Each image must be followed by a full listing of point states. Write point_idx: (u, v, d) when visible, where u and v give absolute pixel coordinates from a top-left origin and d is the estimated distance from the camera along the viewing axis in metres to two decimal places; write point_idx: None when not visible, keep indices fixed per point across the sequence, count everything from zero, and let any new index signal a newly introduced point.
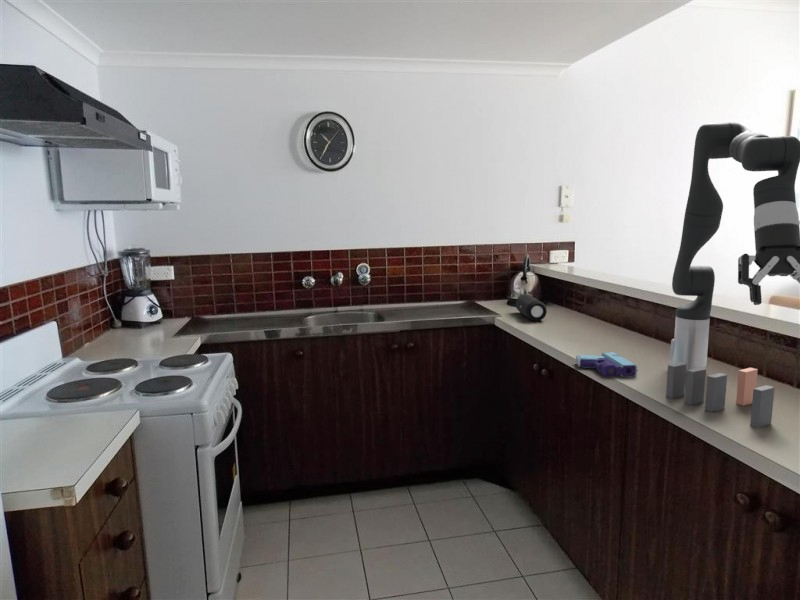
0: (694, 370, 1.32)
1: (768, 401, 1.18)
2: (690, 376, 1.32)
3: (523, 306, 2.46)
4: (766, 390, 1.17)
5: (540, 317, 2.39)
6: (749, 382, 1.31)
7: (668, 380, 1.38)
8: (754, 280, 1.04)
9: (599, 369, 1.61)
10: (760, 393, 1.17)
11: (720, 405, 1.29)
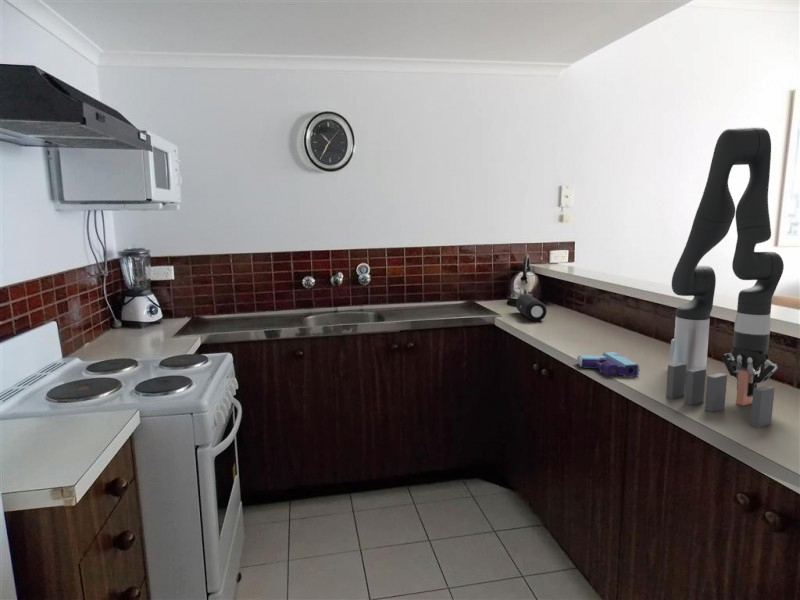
0: (694, 370, 1.32)
1: (768, 401, 1.18)
2: (690, 376, 1.32)
3: (523, 306, 2.46)
4: (766, 390, 1.17)
5: (540, 317, 2.39)
6: None
7: (668, 380, 1.38)
8: (737, 376, 1.33)
9: (601, 369, 1.61)
10: (760, 393, 1.17)
11: (720, 405, 1.29)
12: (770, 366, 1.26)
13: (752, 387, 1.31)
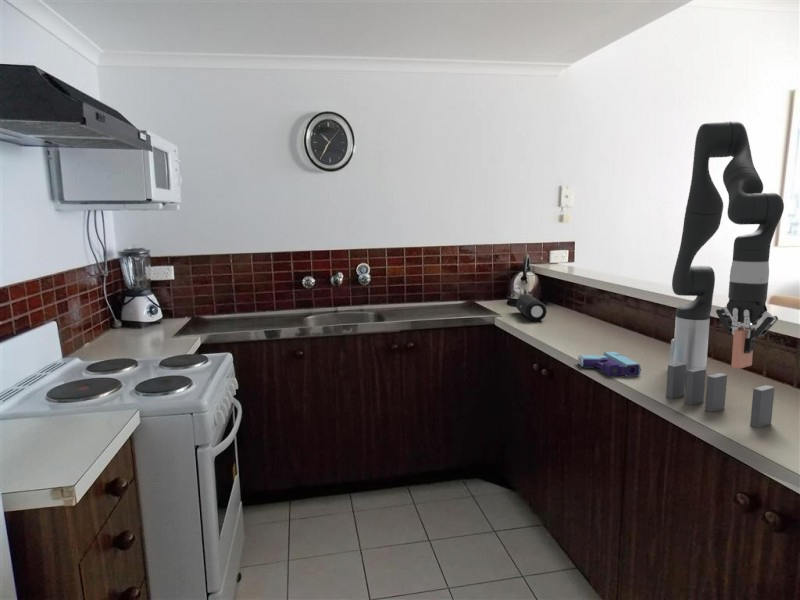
0: (694, 370, 1.32)
1: (768, 401, 1.18)
2: (690, 376, 1.32)
3: (523, 306, 2.46)
4: (766, 390, 1.17)
5: (540, 317, 2.39)
6: None
7: (668, 380, 1.38)
8: (733, 332, 1.22)
9: (603, 369, 1.61)
10: (760, 393, 1.17)
11: (720, 405, 1.29)
12: (768, 318, 1.15)
13: (749, 342, 1.20)
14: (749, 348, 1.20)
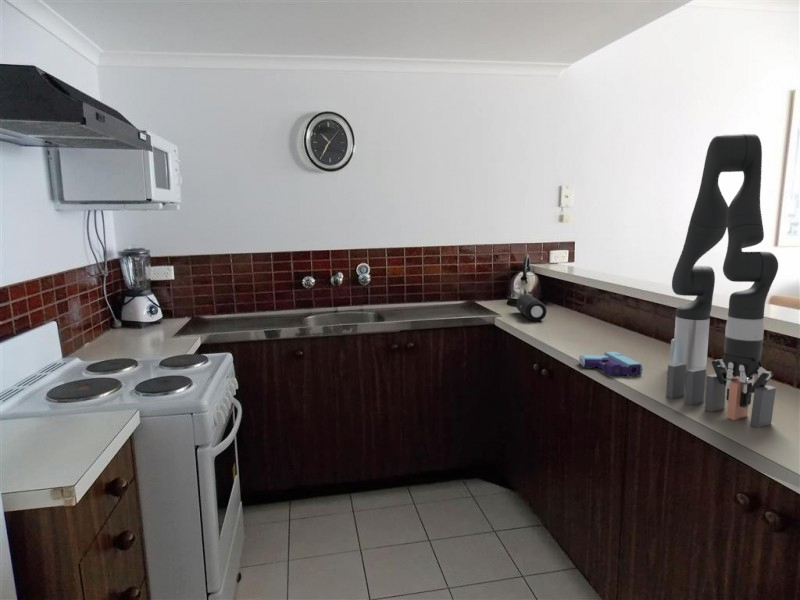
0: (694, 370, 1.32)
1: (769, 401, 1.18)
2: (690, 376, 1.32)
3: (523, 306, 2.46)
4: (767, 390, 1.17)
5: (540, 317, 2.39)
6: None
7: (668, 380, 1.38)
8: (727, 384, 1.25)
9: (604, 369, 1.61)
10: (761, 393, 1.16)
11: (720, 405, 1.29)
12: (764, 374, 1.17)
13: (746, 397, 1.21)
14: (746, 402, 1.21)
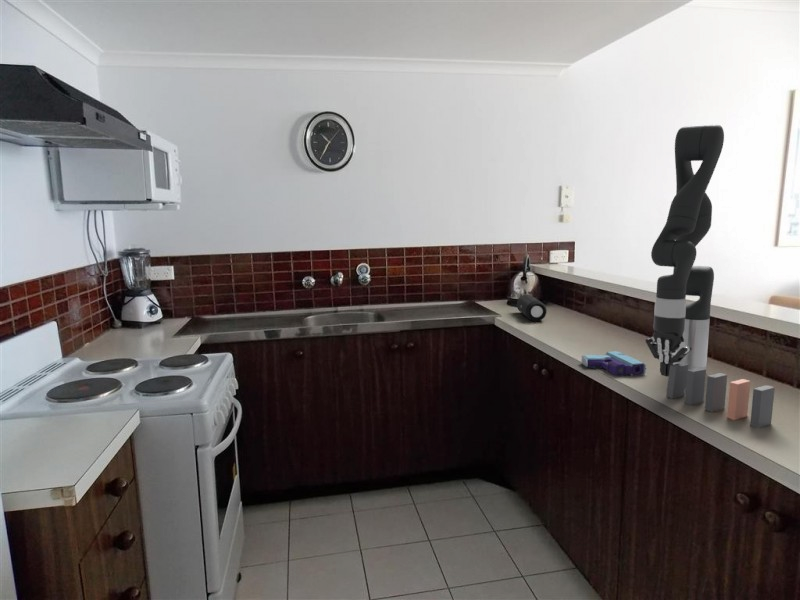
0: (694, 370, 1.32)
1: (768, 401, 1.18)
2: (690, 376, 1.32)
3: (523, 306, 2.46)
4: (766, 390, 1.17)
5: (540, 317, 2.39)
6: (741, 395, 1.22)
7: (669, 380, 1.38)
8: (660, 358, 1.41)
9: (608, 369, 1.61)
10: (760, 393, 1.17)
11: (720, 405, 1.29)
12: (683, 348, 1.34)
13: (668, 367, 1.39)
14: (668, 372, 1.40)
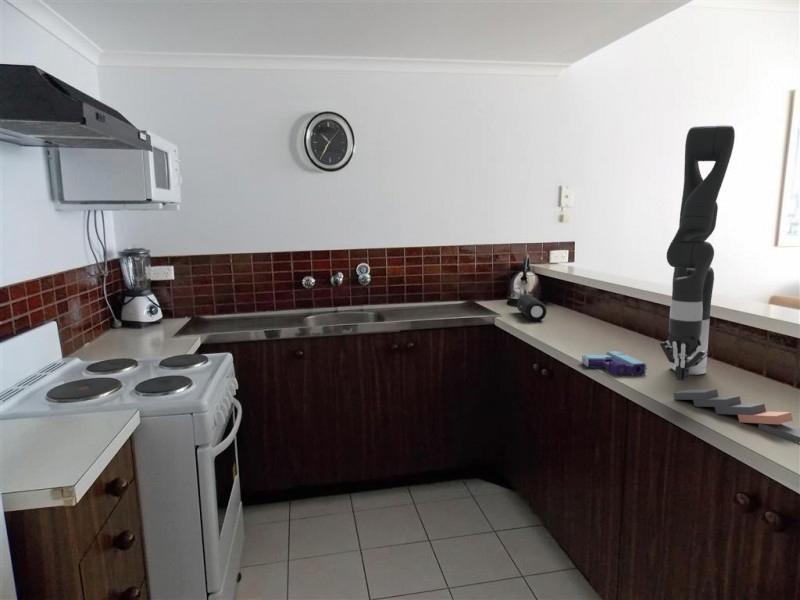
0: (731, 403, 1.24)
1: None
2: (721, 403, 1.25)
3: (523, 306, 2.46)
4: None
5: (540, 317, 2.39)
6: None
7: (689, 394, 1.33)
8: (675, 362, 1.37)
9: (609, 368, 1.61)
10: None
11: None
12: (700, 352, 1.30)
13: (684, 372, 1.35)
14: (684, 376, 1.36)
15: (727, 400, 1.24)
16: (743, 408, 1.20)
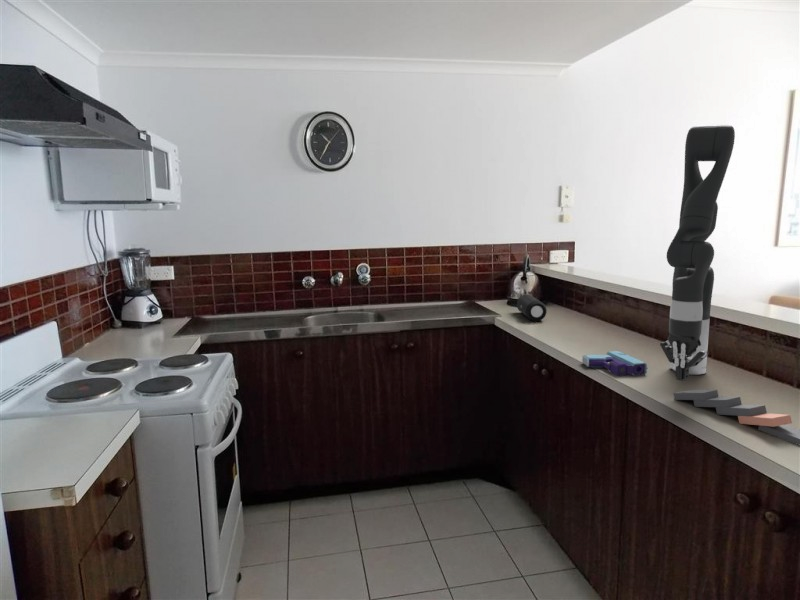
0: (731, 403, 1.24)
1: None
2: (721, 404, 1.25)
3: (523, 306, 2.46)
4: None
5: (540, 317, 2.39)
6: None
7: (689, 394, 1.32)
8: (675, 362, 1.37)
9: (609, 368, 1.61)
10: None
11: None
12: (700, 352, 1.30)
13: (684, 372, 1.35)
14: (684, 376, 1.36)
15: (727, 400, 1.24)
16: (742, 409, 1.19)
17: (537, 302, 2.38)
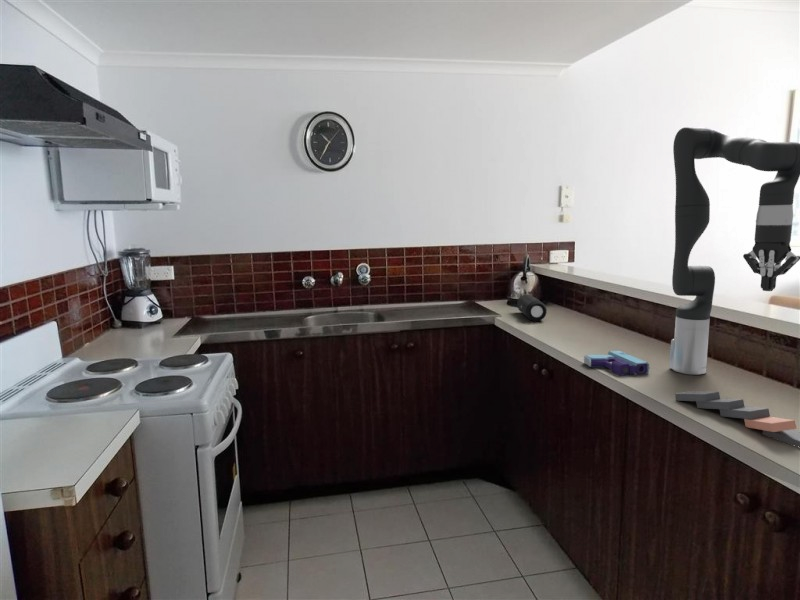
0: (733, 405, 1.23)
1: None
2: (723, 406, 1.24)
3: (523, 306, 2.46)
4: None
5: (540, 317, 2.39)
6: None
7: (690, 395, 1.32)
8: (762, 272, 1.32)
9: (612, 368, 1.61)
10: None
11: None
12: (792, 257, 1.25)
13: (771, 281, 1.31)
14: (771, 286, 1.31)
15: (729, 403, 1.22)
16: (744, 412, 1.18)
17: (537, 302, 2.38)
